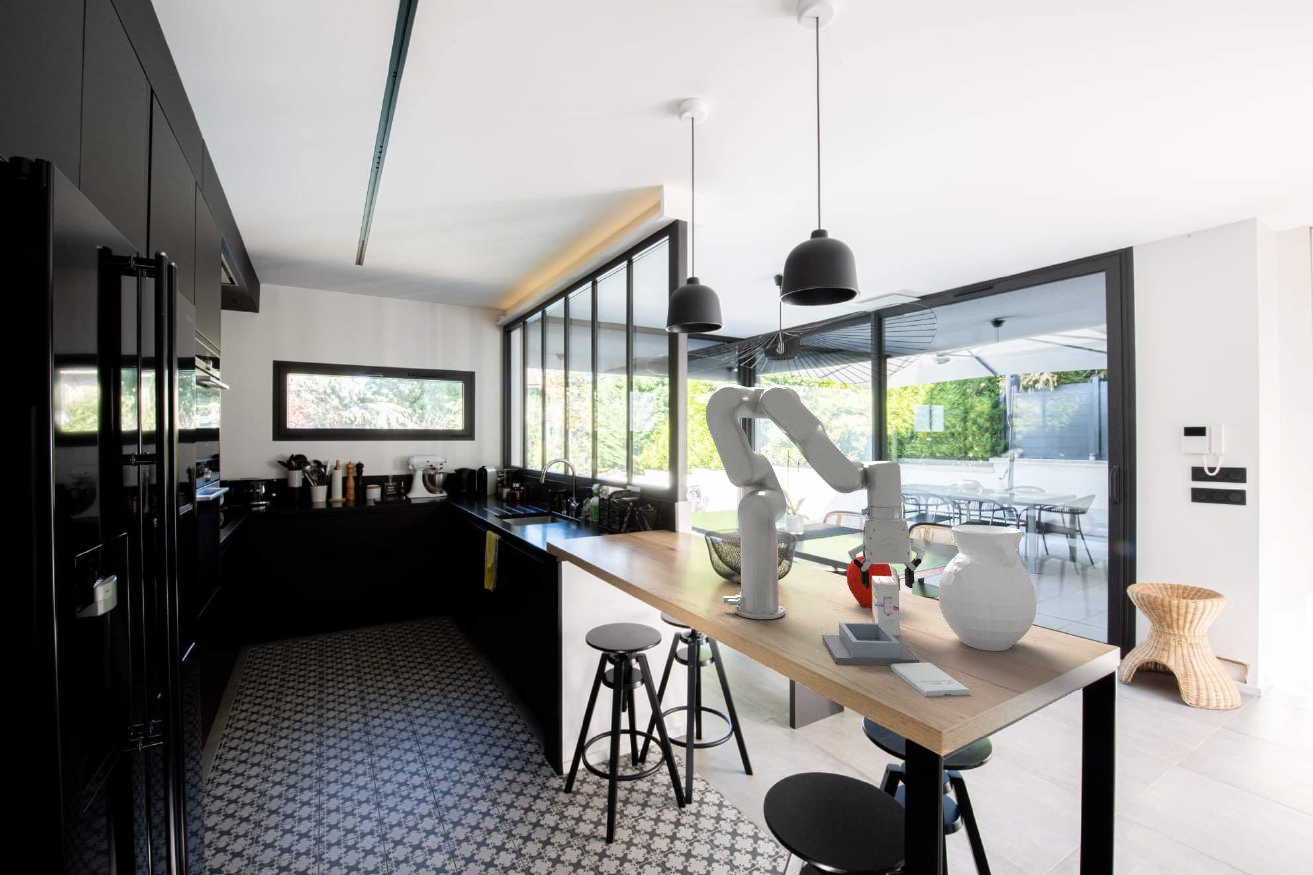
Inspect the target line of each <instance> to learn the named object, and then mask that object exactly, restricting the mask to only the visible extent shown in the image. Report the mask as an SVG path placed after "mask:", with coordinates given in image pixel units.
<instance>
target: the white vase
mask: <svg viewBox="0 0 1313 875" xmlns="http://www.w3.org/2000/svg"><path fill="white" fill-rule="evenodd" d="M951 531H952V536H953V538H954V541H955V543H956V547H957V552H958V553H957V554H956V555H955V556H954V557H953V558H951V560H950V561H948V564H947V565H946V566H945V568H944V569H943V572H942V574H941V577H940V579H939V587H938V593H937V594H938V606H939V609H940V611H941V614H942V617H943V619H944V620H945V622H946V624H947V625H948V627H949V628H950V629H951V631H953V633H954V634H955V635H956V636H957V637H958V639H959V640H960V641H961V642H962V643H963V644H964V645H966V646H968V647H971V648H973V649H976V650H977V649H978V650H982V651H983V650H984V651H989V652H991V651H992V652H1002V651H1003V652H1004V651H1007V650H1009V649H1010V648H1011V647H1013V646H1014V645H1015V644H1016V643H1017V642H1018V641H1020V640H1021V639H1022V638H1023V637H1024V636H1025V635H1026V634H1027V633H1028V632H1029V631H1030V630H1031V628H1032V625H1033V623H1034V620H1035V618H1036V612H1037V597H1036V591H1035V587H1034V584H1033V581H1032V580H1031V578H1030V575H1029V574H1028V572H1027V570H1026V568H1025V567H1024V565H1023V563H1022V561H1021V557H1020V556H1021V555H1020V554H1019V553H1017V549H1018V547H1019V545H1020V543H1021V540H1022V536H1023V532H1022V530H1020V529H1019V528H1015V527H1009V526H999V525H985V524H982V525H980V524H961V525H960V524H958V525H953V526H952V527H951Z"/></svg>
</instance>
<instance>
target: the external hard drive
mask: <svg viewBox="0 0 1313 875" xmlns="http://www.w3.org/2000/svg"><path fill="white" fill-rule="evenodd" d="M890 670H891V671H893V672H894V674H896V675H898V676H899V677H900V678H901V679H903V680H904V681H905V682H906V683H907V684H909V685H910V686H912V687H913V689H915V690H917V691H918V692H919V693H920V694H921V695H923V696H924V697H941V696H942V697H943V696H962V695H963V696H965V695H966V696H969V695H971V690H970V689H969V688H967V687H966V686H964V684H962V683H960V681H957V680H956V679H955V678H953V677H952V676H950V675H949V674H947V673H946V672H945V671H943V670H942V669H940V668H939V667H937V666H936V665H934V663H931V662H919V663H901V664H891V665H890Z"/></svg>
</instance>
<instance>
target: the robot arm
mask: <svg viewBox="0 0 1313 875" xmlns="http://www.w3.org/2000/svg"><path fill="white" fill-rule="evenodd" d="M739 418H740V419H741V418H743V419H763V420H764V419H766V420H771V422H773V424H774V425H775V426H776V427H777V428H778V429H779V430H780V431H781V432H782V433H783V434H784V435H785V436H786V437H787V439H789V440H790V442H792V443H793V445H795V447H796V448H797V450H798V451H799V452H800V455H801V456H802V457H803V458H804V459H805V460H806V462H807V463H808V464H809V465H810V467H811V468H812V469H813V470H814V471H815V472H816V474H817V475H818V476H819V477H820V478H821V479H822V480H823V481H824V483H826V484H827V485H828V486H829V487H830V488H832V489H833V490H834V491H836V492H838V493H839V494H845V495H846V494H852V493H853V492H857V491H862V490H863V491H865V490H866V495H867V496H866V499H867V500H866V501H867V503H866V504H867V505H866V507H865V508H862V509H861V515H862V516H866V519H864V526H863V532H862V533H863V535H862V543H861V544H859V545H858V546H855V547H854V548H852V549H850V550H848V551H847V554H848V557H849V558H850V560H851V561H852V562H853V563H854V564H855V565H856V566H857V567H858V568H859V569H860V572H861V584H863V586H864V587H865V588H866V589H869V588H870V583H869V572H868V571H867V569H868V568H869V566H870V565H871V564H872V563H873V564H889V565H897V564H899V565H900V564H901V565H902V564H903V565H904V566H905V567H906V568H905V569H904V585H905V586H906V587H907V588H909V589H913V588H914V587H913V585H914V584H915V571H916V569H917V568H918V567H919V565H921V564H922V560H923V559H924V558H925V555H926V550H924V549H921V548H919V547H917V546H915V545H913V544H911V537H910V535H911V534H910V530H909V526H908V521H907V520H906V519H905V518H903V503H902V502H903V501H902V481H901V480H902V477H901V465H900V464H899V463H898V462H897V461H894V460H875V461H870V462H869V461H858V460H850V459H849V458H848V457H847V456H846V455H845V454H844V453H843V452H842V451H841V450H840V449H839V448H838V447H837V446H836V445H835V444H834V442H833V441H832V440H831V439H830V438H829V436H828V434H827V432H826V429H825V425H824V424H823V423H822V421H821V420H820V419H818V417H816V416H815V414H814V413H812V411H810V409H808V408H807V406H805V404H803V403H802V401H801V397H800V395H799V394H798V392H797V391H796V390H794V389H793V388H791V387H787V386H785V385H780V384H774V385H770V386H769V387H747V386H743V385H739V384H733V383H731V384H730V383H729V384H725V385H722V386H720V387H719V388H717V389H716V390H714V392H713V393H712V394H711V396H710V398H708V401H707V404H706V408H705V419H706V425H707V427H708V431H709V433H710V436H711V438H712V440H713V443H714V445H715V448H716V451H717V454H718V456H719V458H720V461H721V463H722V466H723V468H724V470H725V474H726V476H727V478H728V480H729V482H730V483H731V484H732V485H733V486H735V487H737V488H742V489H744V488H745V491H746V494H744V496H743V497H742V498H741V499H740V501H739V504H738V507H737V520H738V526H739V535H740V592H738V593H739V594H736V595H735V596H730V595H723V604H728V606H735V609H734V612H735V614H737V615H738V616H741V617H744V618H747V619H753V620H772V619H778V618H781V617H783V616H784V615H785V614H786V611H785V610H786V608H784V606H782V605H779V542H778V541H779V539H778V531H777V525H776V523H777V522H779V521H780V520H782V518H784V516H785V514H786V512H787V509H788V508H787V507H788V506H787V505H788V504H787V498H786V496H785V494H784V491H783V489H782V486H781V484H780V482H779V480H778V477H777V475H776V473H775V470H774V467H773V465H772V464H771V461H769V459H768V458H767V457H766V456H765V455H764V454H763V453H760V452H758V451H754V450H753V448H752V447H751V445H750V442H749V439H748V437H747V434H746V433H745V430H744V429H743V427H742V426H741V424H740V422H739ZM912 552H914V553H915V554H916V555H915V557H914V558H913V557H912V556H913V554H912ZM861 553H862V556H863V557H864V559H863V561H862V562H860V561H859V560H858V559H857V557H858V556H857V555H858V554H861Z"/></svg>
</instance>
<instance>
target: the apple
mask: <svg viewBox="0 0 1313 875" xmlns="http://www.w3.org/2000/svg"><path fill="white" fill-rule="evenodd" d="M856 557H857V559H858V560H859V561H860V562H862V561H863V559H864V557H863V555H862V556H861V555H860V556H856ZM867 571H868V572H869V583H870V588H869V589H866V588H865V587H864V586H863V584H861V572H860V569H859V568H858V567H857V566H856V565H855V564H854V563H853V562H852V560H851V561H850V563H849V564H848V567H847V570H846V583H847V585H848V590H849V591H850V593H851V594H852V595H853V597H854V599H855V601H856V602H857V603H858V604H859V605H861V606H862V607H865V608H872V576H887V577H892V573H891V565H890V564H873V563H872V564H871V565H870V566H869V568H868V569H867Z"/></svg>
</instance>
